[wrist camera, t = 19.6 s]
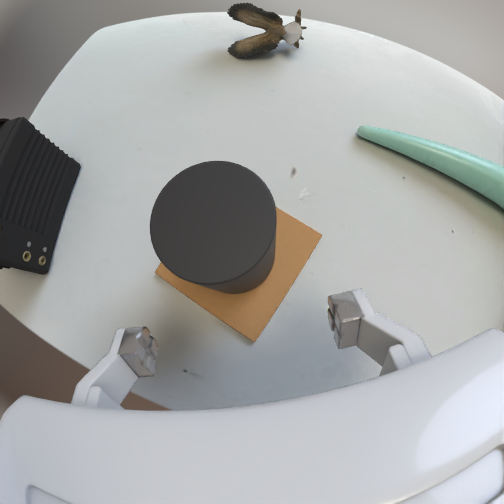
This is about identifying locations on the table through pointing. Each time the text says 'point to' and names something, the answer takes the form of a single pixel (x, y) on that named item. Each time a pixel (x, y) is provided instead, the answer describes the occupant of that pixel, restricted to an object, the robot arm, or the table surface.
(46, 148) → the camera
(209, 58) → the table surface
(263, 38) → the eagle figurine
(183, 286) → the cork mat
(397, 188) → the table surface
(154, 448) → the robot arm
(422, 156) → the mint green cone
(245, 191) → the dark grey cylinder
